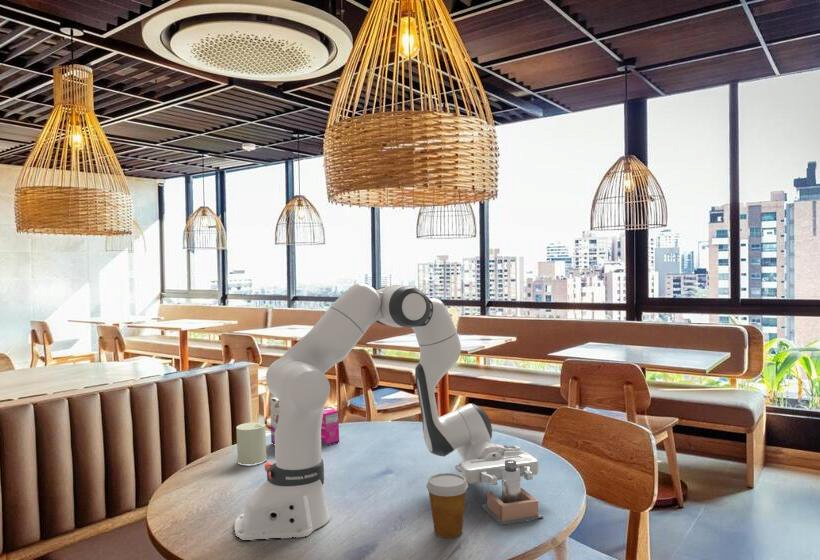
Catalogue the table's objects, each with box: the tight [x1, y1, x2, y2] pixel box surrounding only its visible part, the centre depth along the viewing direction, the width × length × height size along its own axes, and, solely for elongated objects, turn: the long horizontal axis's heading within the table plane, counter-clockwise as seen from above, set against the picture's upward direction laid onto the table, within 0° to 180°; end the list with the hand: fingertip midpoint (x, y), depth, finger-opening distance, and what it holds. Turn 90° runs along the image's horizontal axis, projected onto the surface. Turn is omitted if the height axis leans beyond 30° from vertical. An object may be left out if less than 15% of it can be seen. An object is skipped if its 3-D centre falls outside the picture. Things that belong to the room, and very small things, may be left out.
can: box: [236, 421, 267, 464], centre depth 182 cm, size 9×9×12 cm
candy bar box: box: [269, 396, 280, 445], centre depth 197 cm, size 11×5×16 cm, turn 40°
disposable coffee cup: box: [426, 472, 469, 539], centre depth 130 cm, size 10×10×12 cm
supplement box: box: [321, 407, 340, 446], centre depth 199 cm, size 6×6×12 cm
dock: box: [481, 487, 544, 526], centre depth 139 cm, size 11×11×4 cm
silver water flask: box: [501, 460, 521, 504], centre depth 139 cm, size 4×4×12 cm
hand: (512, 479), depth 138 cm, fingers open, 8 cm apart
